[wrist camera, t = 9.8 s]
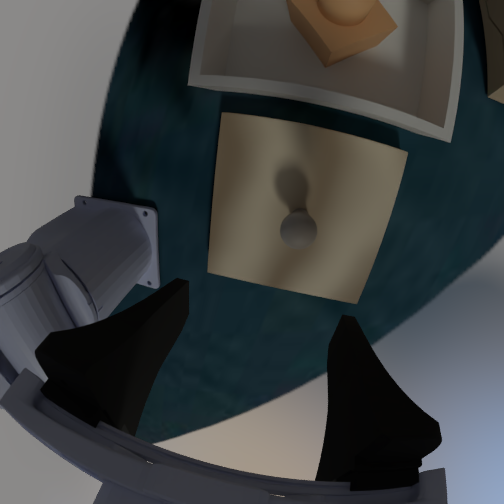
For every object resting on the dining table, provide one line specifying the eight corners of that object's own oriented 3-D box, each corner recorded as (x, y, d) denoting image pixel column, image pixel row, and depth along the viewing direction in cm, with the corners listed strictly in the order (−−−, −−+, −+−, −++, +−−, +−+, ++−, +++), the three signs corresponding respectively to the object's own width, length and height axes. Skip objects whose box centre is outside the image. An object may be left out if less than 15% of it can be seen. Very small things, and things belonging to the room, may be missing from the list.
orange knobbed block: (325, 67, 14) (337, 38, 8) (290, 21, 13) (278, -30, 6) (376, 46, 13) (416, 10, 6) (342, -1, 11) (357, -56, 5)
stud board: (213, 262, 23) (192, 298, 19) (228, 112, 17) (203, 113, 13) (354, 292, 22) (361, 334, 18) (401, 149, 16) (428, 162, 12)
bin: (217, 90, 17) (187, 85, 12) (239, -36, 11) (219, -68, 7) (417, 133, 15) (450, 142, 11) (432, 4, 10) (461, -17, 5)
